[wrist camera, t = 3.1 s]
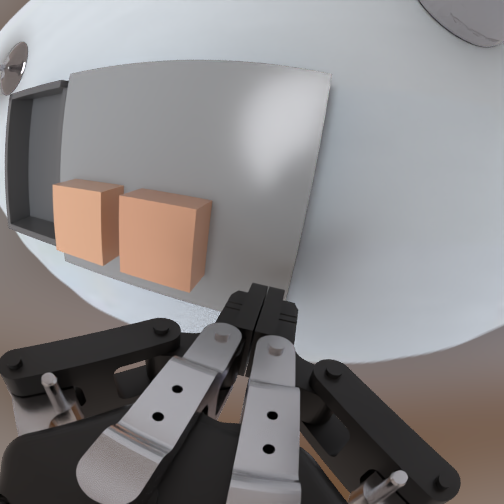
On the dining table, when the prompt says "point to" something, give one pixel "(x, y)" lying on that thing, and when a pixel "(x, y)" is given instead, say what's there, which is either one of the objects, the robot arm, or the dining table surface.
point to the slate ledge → (205, 157)
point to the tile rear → (87, 219)
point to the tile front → (164, 237)
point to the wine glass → (13, 68)
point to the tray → (34, 158)
